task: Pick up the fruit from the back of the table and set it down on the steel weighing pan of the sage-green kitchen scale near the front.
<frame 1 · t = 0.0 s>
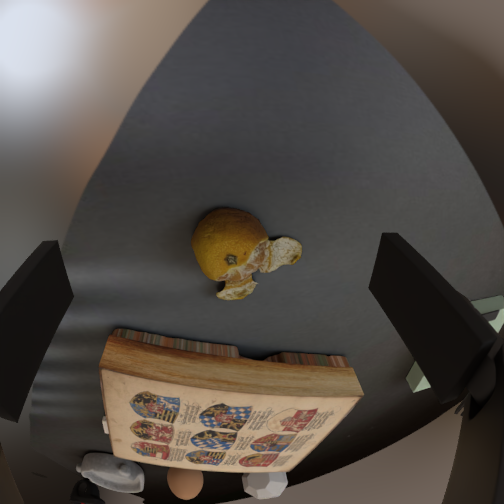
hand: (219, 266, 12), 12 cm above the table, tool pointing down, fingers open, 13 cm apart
scale: (456, 337, 37), on the table
egg: (185, 460, 46), on the table
book: (208, 403, 36), on the table
controller: (89, 480, 54), on the table
fruit: (240, 255, 26), on the table
dish: (113, 462, 46), on the table
chicken leg: (268, 468, 51), on the table
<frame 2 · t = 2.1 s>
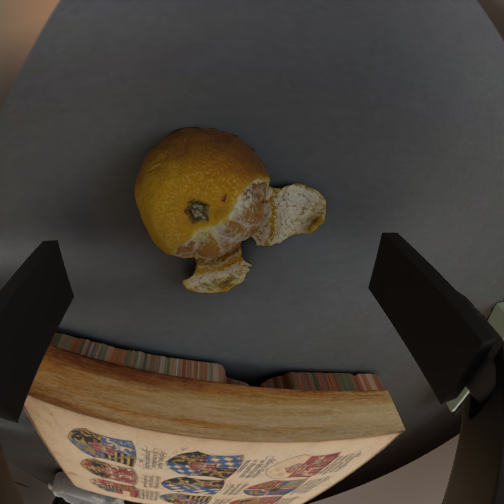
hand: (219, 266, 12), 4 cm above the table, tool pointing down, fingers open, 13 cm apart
scale: (502, 342, 26), on the table
book: (188, 433, 26), on the table
controller: (69, 494, 44), on the table
fruit: (222, 217, 15), on the table
dish: (89, 482, 36), on the table
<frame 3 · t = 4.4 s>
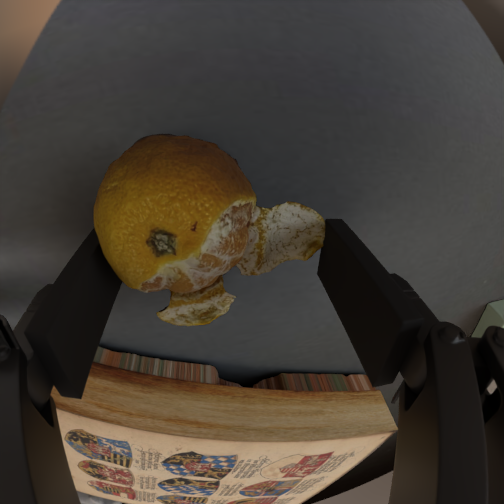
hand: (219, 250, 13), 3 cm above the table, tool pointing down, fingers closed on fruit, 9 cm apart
scale: (495, 341, 26), on the table
book: (184, 435, 26), on the table
fruit: (201, 241, 13), point 3 cm above the table, touching gripper
dish: (87, 486, 35), on the table
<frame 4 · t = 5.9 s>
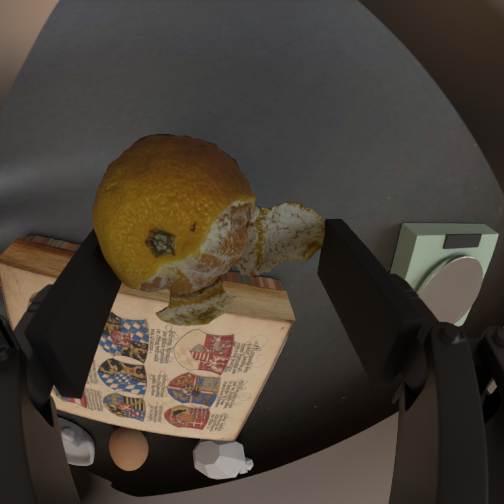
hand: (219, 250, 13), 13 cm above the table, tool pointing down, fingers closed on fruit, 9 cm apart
scale: (433, 275, 32), on the table
egg: (131, 427, 42), on the table
book: (131, 342, 32), on the table
fruit: (200, 241, 13), point 13 cm above the table, touching gripper
dish: (64, 429, 42), on the table
scale pan: (448, 297, 29), point 4 cm above the table, slide at 0.0 cm
chicken leg: (228, 444, 47), on the table
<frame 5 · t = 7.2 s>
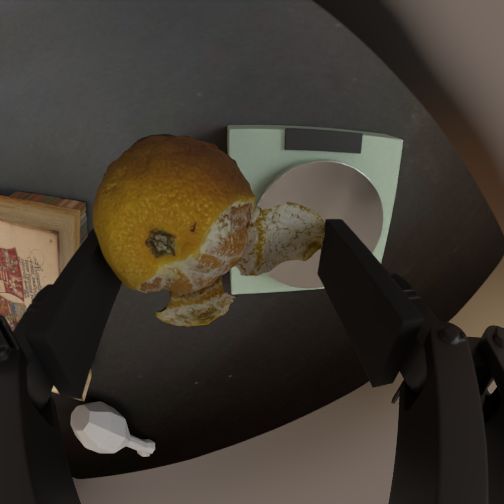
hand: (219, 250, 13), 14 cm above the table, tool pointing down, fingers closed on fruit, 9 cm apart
scale: (307, 205, 27), on the table
fruit: (200, 241, 13), point 13 cm above the table, touching gripper
scale pan: (320, 228, 24), point 4 cm above the table, slide at 0.0 cm
chicken leg: (121, 419, 41), on the table
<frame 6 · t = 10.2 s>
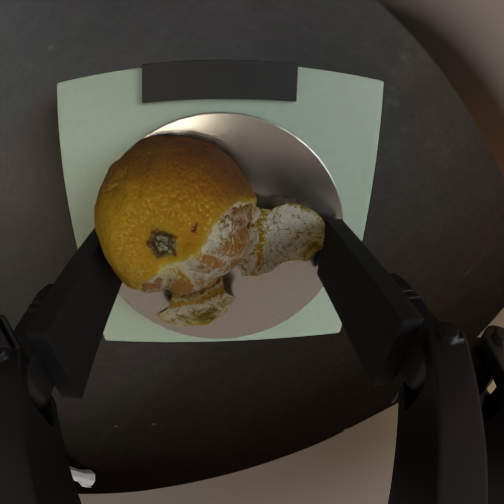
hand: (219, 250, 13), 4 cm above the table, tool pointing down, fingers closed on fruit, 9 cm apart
scale: (218, 203, 16), on the table
fruit: (201, 241, 13), point 4 cm above the table, touching gripper, scale pan
scale pan: (219, 242, 13), point 3 cm above the table, slide at -0.4 cm, touching fruit
chicken leg: (55, 448, 30), on the table
when the fingers open (4 cm above the table, at t = 10.3 s): fruit stays where it is, resting on scale pan.
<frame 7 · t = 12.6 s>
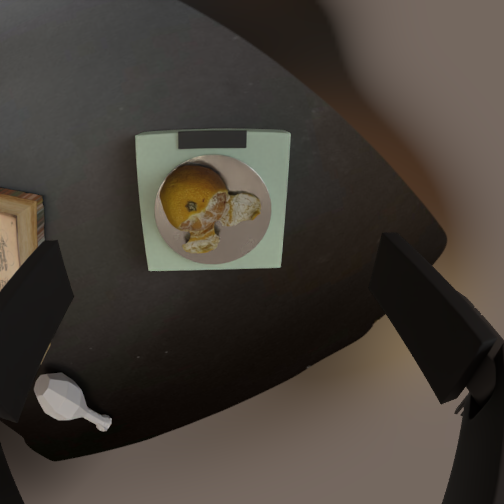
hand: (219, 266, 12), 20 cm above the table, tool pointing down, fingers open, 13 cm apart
scale: (212, 196, 31), on the table
fruit: (204, 211, 28), point 3 cm above the table, touching scale pan
scale pan: (212, 212, 28), point 3 cm above the table, slide at -0.5 cm, touching fruit
chicken leg: (81, 393, 45), on the table
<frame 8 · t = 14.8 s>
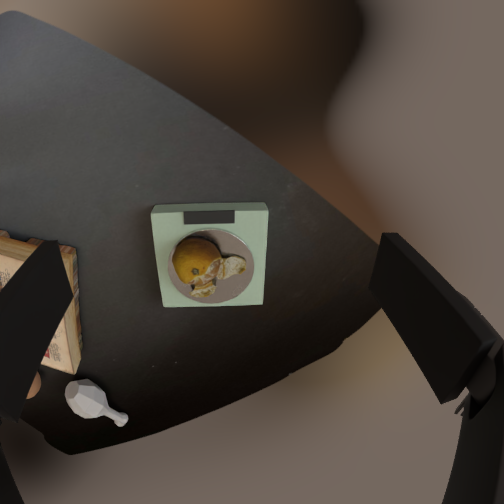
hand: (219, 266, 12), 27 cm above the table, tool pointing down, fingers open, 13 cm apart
scale: (210, 251, 41), on the table
egg: (33, 367, 50), on the table
book: (14, 291, 41), on the table
fruit: (204, 267, 38), point 3 cm above the table, touching scale pan
scale pan: (210, 268, 39), point 3 cm above the table, slide at -0.5 cm, touching fruit
chicken leg: (103, 395, 56), on the table
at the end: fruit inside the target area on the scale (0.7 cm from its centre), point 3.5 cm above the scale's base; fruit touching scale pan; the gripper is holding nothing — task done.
